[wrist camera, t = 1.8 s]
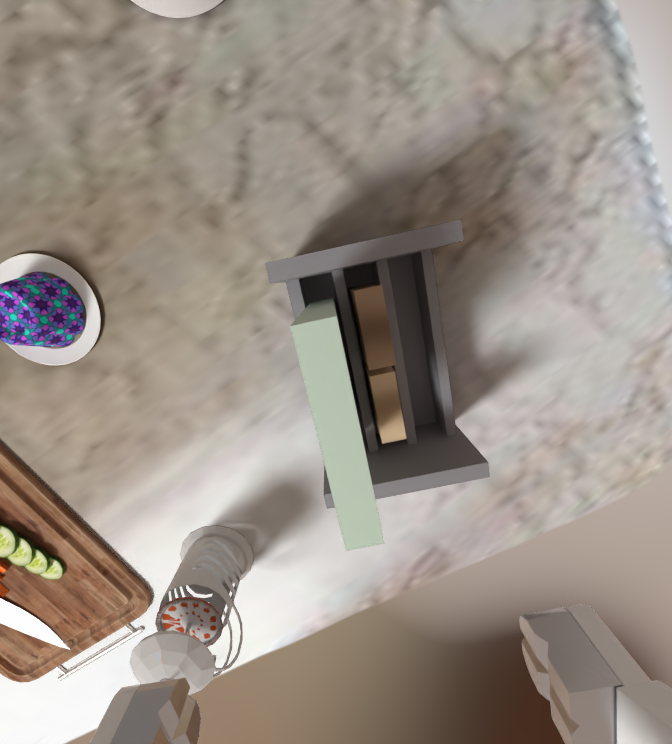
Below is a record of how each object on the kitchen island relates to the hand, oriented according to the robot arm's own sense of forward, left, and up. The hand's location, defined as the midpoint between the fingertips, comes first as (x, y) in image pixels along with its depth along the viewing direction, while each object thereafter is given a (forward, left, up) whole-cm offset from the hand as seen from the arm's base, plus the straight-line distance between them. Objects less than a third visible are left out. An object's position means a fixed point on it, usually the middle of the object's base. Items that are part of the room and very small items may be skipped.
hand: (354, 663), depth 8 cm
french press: (+24, -21, -33) cm, 46 cm away
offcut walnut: (-4, +4, -31) cm, 32 cm away
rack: (0, +4, -33) cm, 33 cm away
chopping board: (+15, -51, -34) cm, 63 cm away
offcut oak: (+4, +4, -31) cm, 32 cm away
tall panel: (0, 0, -31) cm, 31 cm away
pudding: (-12, -30, -34) cm, 46 cm away
